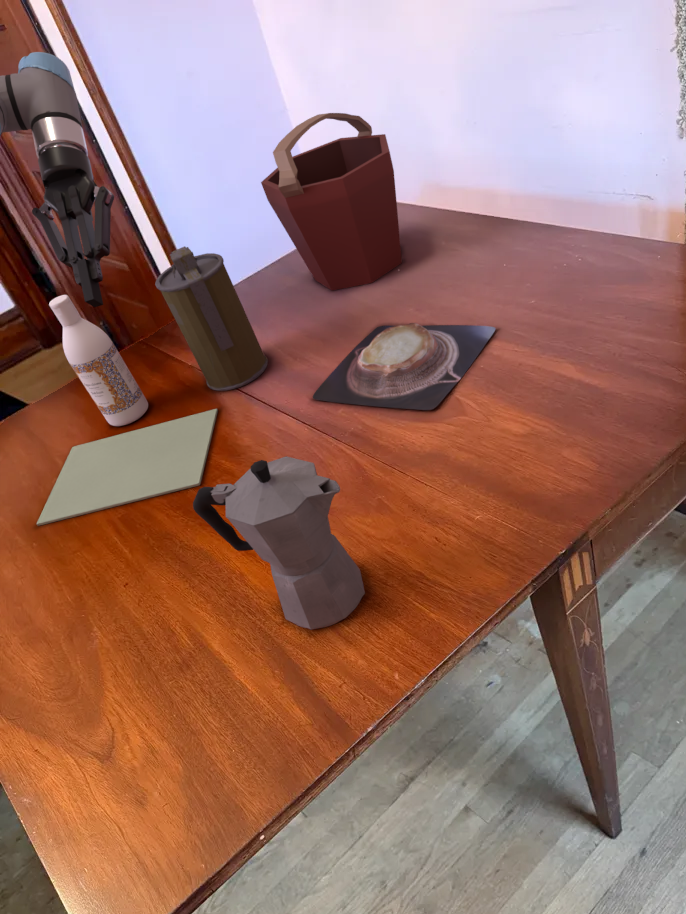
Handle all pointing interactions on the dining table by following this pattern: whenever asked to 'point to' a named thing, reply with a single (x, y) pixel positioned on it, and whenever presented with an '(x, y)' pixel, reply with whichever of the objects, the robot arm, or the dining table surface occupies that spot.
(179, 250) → the canister
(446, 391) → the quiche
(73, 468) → the mat
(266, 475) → the coffeepot
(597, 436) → the dining table surface
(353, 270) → the bucket
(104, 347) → the bath foam
